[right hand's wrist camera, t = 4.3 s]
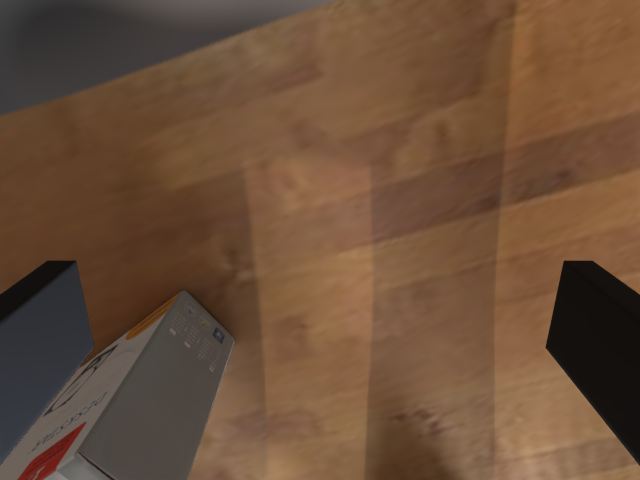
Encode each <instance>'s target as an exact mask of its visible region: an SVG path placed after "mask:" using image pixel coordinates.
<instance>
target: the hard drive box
mask: <svg viewBox="0 0 640 480" xmlns="http://www.w3.org/2000/svg"><path fill="white" fill-rule="evenodd" d="M234 343H235V341H234V338H233V337H232V336H231V335H230V334H229V333H228V332H227V331H226V330H225V329H224V328H223V327H222V326H221V325H220V324H219V323H218V322H217V321H216V320H215V319H214V318H213V317H212V316H211V315H210V314H209V313H208V312H207V311H206V310H205V309H204V308H203V307H202V306H201V305H200V304H199V303H198V302H197V301H196V300H195V299H194V298H193V297H192V296H191V295H190V294H189V293H188V292H187V291H186V290H182V291H181V292H179V293H178V294H176V295H175V296H174V297H172V298H171V299H170V300H168V301H167V302H166V303H165V304H163V305H162V306H160V307H159V308H158V309H156V310H155V311H154V312H153V313H151V314H150V315H149V316H148V317H146V318H145V319H144V320H142V321H141V322H140V323H138V324H137V325H136V326H135V327H133V328H132V329H131V330H129V331H128V332H127V333H125V334H124V335H123V336H121V337H120V338H119V339H117V340H116V341H115V342H113V343H112V344H111V345H110V346H108V347H106V348H105V349H104V350H103V351H102V352H100V353H99V354H98V355H96V356H95V357H94V358H93V359H91V360H90V361H89V362H88V363H86V364H85V365H84V366H82V367H81V368H80V369H79V370H78V371H77V372H76V373H75V375H74V376H73V377H72V378H71V379H70V381H69V382H68V383H67V384H66V386H65V387H64V388H63V389H62V390H61V392H60V393H59V394H58V395H57V397H56V398H55V399H54V400H53V402H52V403H51V404H50V405H49V407H48V408H47V409H46V410H45V412H44V413H43V414H42V415H41V417H40V418H39V419H38V420H37V422H36V423H35V424H34V425H33V426H32V428H31V429H30V430H29V431H28V433H27V434H26V435H25V436H24V438H23V439H22V440H21V441H20V442H19V444H18V445H17V446H16V447H15V449H14V450H13V451H12V452H11V454H10V455H9V456H8V457H7V459H6V460H5V461H4V462H3V464H2V465H1V466H0V480H188V477H189V474H190V471H191V468H192V465H193V462H194V459H195V456H196V453H197V450H198V447H199V445H200V442H201V439H202V436H203V433H204V430H205V427H206V424H207V422H208V419H209V416H210V413H211V410H212V407H213V404H214V401H215V398H216V395H217V393H218V390H219V387H220V384H221V381H222V378H223V375H224V372H225V369H226V367H227V364H228V361H229V358H230V355H231V352H232V349H233V346H234Z"/></svg>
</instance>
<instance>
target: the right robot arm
mask: <svg viewBox="0 0 640 480" xmlns="http://www.w3.org/2000/svg"><path fill="white" fill-rule="evenodd" d="M93 349H94V343H93V339H92V334H91V329H90V325H89V320H88V315H87V310H86V306H85V301H84V296H83V291H82V287H81V282H80V277H79V272H78V268H77V263H76V261H47V262H45V263H44V264H42V265H41V266H40V267H38V268H37V269H35V270H34V271H33V272H31V273H30V274H28V275H27V276H26V277H24V278H23V279H21V280H20V281H19V282H17V283H16V284H15V285H13V286H12V287H10V288H9V289H8V290H6V291H5V292H3V293H2V294H1V295H0V465H1V464H2V463H3V461H4V460H5V459H6V458H7V456H8V455H9V454H10V453H11V451H12V450H13V449H14V448H15V446H16V445H17V444H18V443H19V441H20V440H21V439H22V438H23V436H24V435H25V434H26V433H27V431H28V430H29V429H30V428H31V426H32V425H33V424H34V423H35V421H36V420H37V419H38V418H39V416H40V415H41V414H42V413H43V411H44V410H45V409H46V408H47V406H48V405H49V404H50V403H51V401H52V400H53V399H54V398H55V396H56V395H57V394H58V393H59V391H60V390H61V389H62V388H63V386H64V385H65V384H66V383H67V381H68V380H69V379H70V378H71V376H72V375H73V374H74V373H75V371H76V370H77V369H78V368H79V366H80V365H81V364H82V362H83V361H84V360H85V359H86V357H87V356H88V355H89V354H90V352H91V351H92V350H93ZM546 349H547V350H548V351H549V352H550V354H551V355H552V356H553V357H554V359H555V360H556V361H557V362H558V364H559V365H560V366H561V368H562V369H563V370H564V371H565V373H566V374H567V375H568V376H569V378H570V379H571V380H572V381H573V383H574V384H575V385H576V386H577V388H578V389H579V390H580V391H581V393H582V394H583V395H584V396H585V398H586V399H587V400H588V401H589V403H590V404H591V405H592V406H593V408H594V409H595V410H596V411H597V413H598V414H599V415H600V416H601V418H602V419H603V420H604V421H605V423H606V424H607V425H608V426H609V428H610V429H611V430H612V431H613V433H614V434H615V435H616V436H617V438H618V439H619V440H620V441H621V443H622V444H623V445H624V446H625V448H626V449H627V450H628V451H629V453H630V454H631V455H632V456H633V458H634V459H635V460H636V461H637V463H638V464H639V465H640V295H639V294H638V293H637V292H635V291H634V290H632V289H631V288H630V287H628V286H627V285H625V284H624V283H623V282H621V281H620V280H619V279H617V278H616V277H614V276H613V275H612V274H610V273H609V272H607V271H606V270H605V269H603V268H602V267H600V266H599V265H598V264H596V263H595V262H593V261H564V263H563V268H562V272H561V277H560V282H559V287H558V291H557V296H556V301H555V306H554V310H553V315H552V320H551V325H550V329H549V334H548V339H547V343H546Z"/></svg>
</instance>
